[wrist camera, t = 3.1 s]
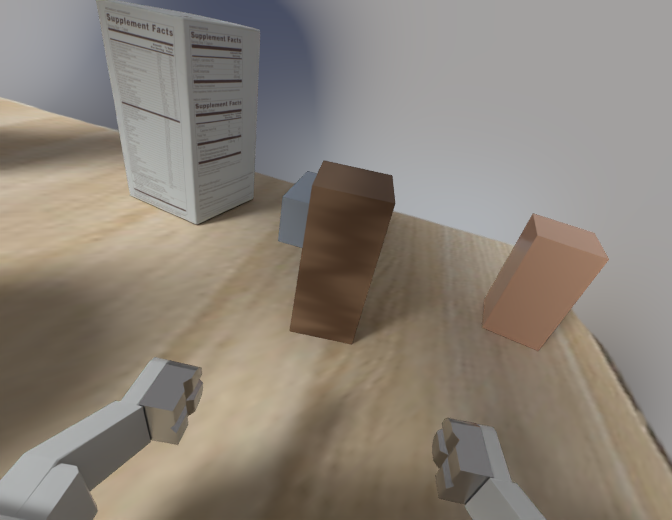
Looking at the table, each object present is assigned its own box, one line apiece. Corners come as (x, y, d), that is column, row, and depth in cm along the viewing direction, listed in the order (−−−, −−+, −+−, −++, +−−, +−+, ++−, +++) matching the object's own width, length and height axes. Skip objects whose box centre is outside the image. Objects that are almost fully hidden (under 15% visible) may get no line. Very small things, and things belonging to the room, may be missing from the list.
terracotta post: (482, 327, 28) (537, 235, 23) (484, 298, 32) (533, 213, 27) (538, 350, 27) (609, 259, 22) (534, 318, 31) (594, 233, 26)
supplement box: (256, 199, 40) (266, 30, 31) (197, 227, 32) (187, 15, 23) (193, 174, 42) (185, 11, 33) (126, 195, 35) (91, -8, 26)
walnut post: (289, 331, 24) (312, 185, 18) (301, 291, 27) (323, 160, 21) (351, 344, 24) (395, 203, 18) (355, 303, 28) (392, 175, 22)
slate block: (278, 242, 33) (282, 196, 31) (301, 211, 40) (307, 171, 37) (355, 264, 33) (367, 219, 30) (366, 228, 39) (377, 189, 37)
